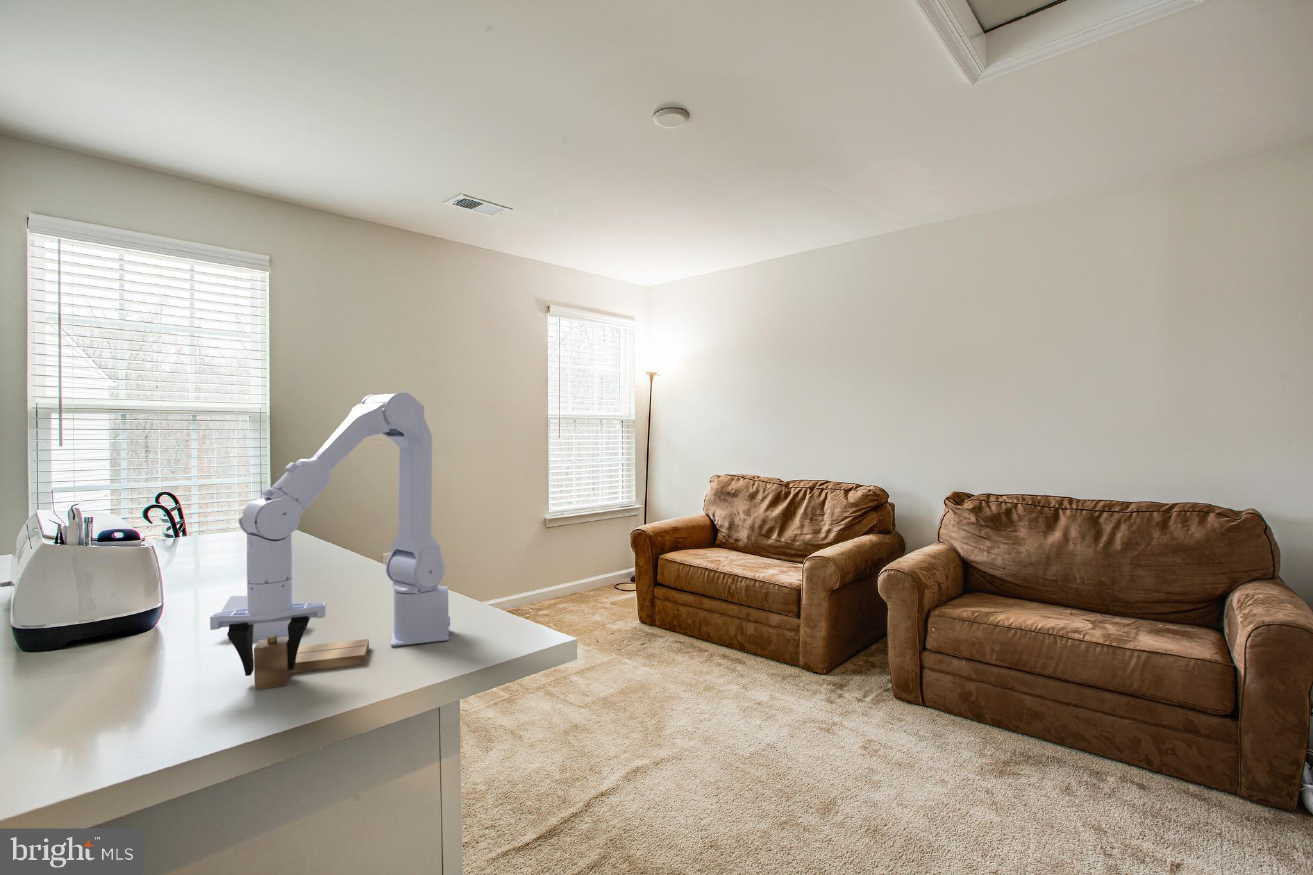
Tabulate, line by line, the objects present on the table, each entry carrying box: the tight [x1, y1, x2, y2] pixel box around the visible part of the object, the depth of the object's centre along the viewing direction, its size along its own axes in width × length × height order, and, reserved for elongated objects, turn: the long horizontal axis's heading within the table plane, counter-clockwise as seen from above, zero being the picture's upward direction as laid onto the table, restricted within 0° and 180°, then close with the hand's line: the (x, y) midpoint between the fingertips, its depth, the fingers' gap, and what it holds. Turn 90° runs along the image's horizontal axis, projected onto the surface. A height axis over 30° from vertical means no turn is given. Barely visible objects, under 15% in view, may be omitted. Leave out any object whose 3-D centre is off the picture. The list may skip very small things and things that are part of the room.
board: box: [291, 638, 370, 674], centre depth 101 cm, size 14×8×2 cm, turn 110°
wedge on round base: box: [220, 595, 291, 640], centre depth 116 cm, size 9×7×13 cm
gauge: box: [253, 636, 292, 691], centre depth 94 cm, size 4×9×7 cm, turn 24°
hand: (270, 670), depth 93 cm, fingers open, 5 cm apart
